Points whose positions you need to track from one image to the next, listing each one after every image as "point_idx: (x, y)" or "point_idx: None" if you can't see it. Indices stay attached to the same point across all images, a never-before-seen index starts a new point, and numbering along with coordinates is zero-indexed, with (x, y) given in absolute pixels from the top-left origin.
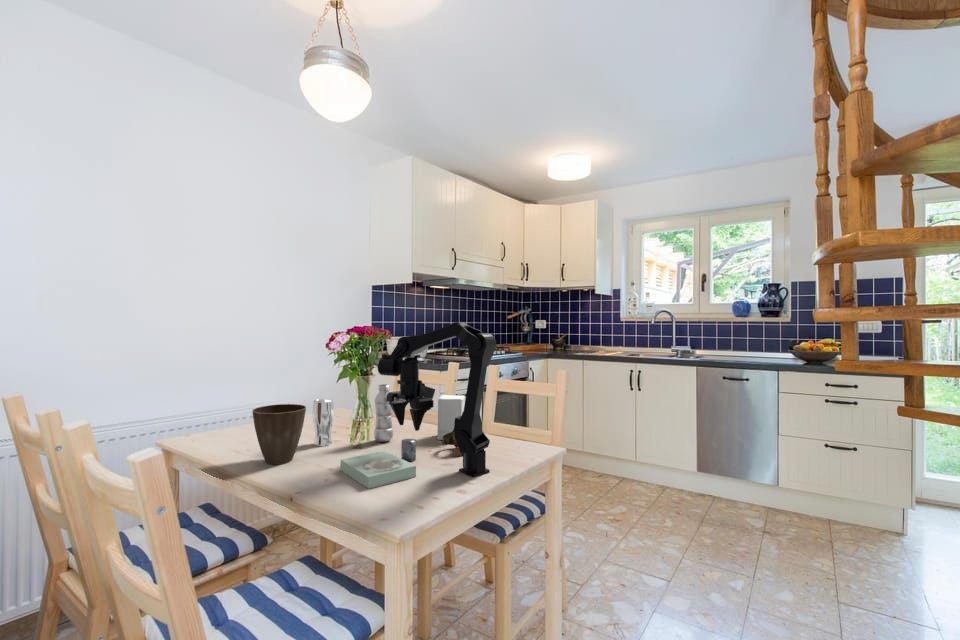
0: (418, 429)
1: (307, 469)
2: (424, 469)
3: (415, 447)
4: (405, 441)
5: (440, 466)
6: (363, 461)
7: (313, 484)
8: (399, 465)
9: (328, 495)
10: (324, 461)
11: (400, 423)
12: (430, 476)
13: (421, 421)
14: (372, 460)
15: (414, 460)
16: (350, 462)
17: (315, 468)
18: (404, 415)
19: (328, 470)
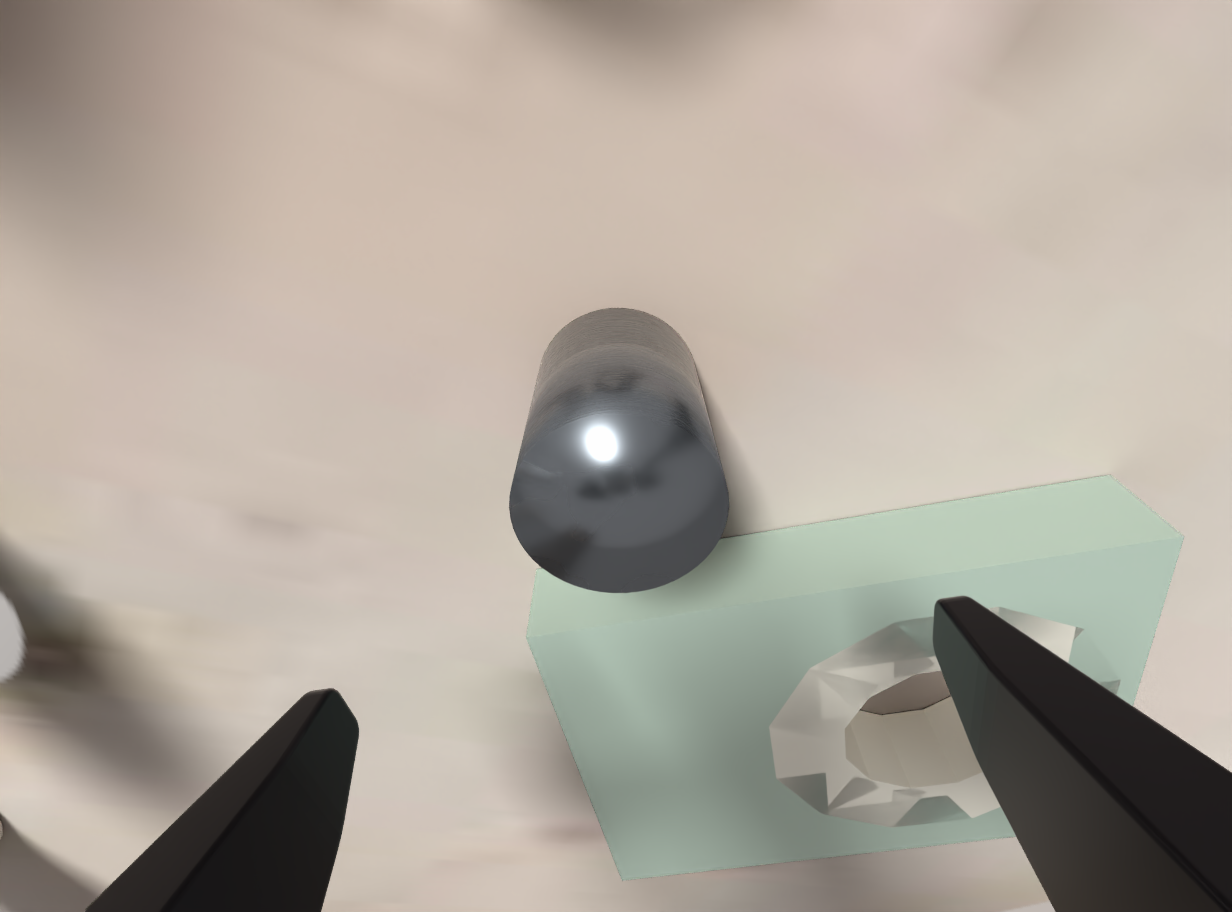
0: (982, 618)
1: (519, 900)
2: (1001, 341)
3: (681, 390)
4: (646, 559)
5: (1055, 129)
6: (748, 801)
7: (778, 900)
8: (1047, 643)
9: (974, 876)
10: (395, 841)
11: (350, 761)
12: (1218, 361)
13: (1180, 746)
14: (765, 758)
15: (684, 344)
16: (721, 853)
17: (519, 878)
18: (200, 867)
19: (589, 844)
